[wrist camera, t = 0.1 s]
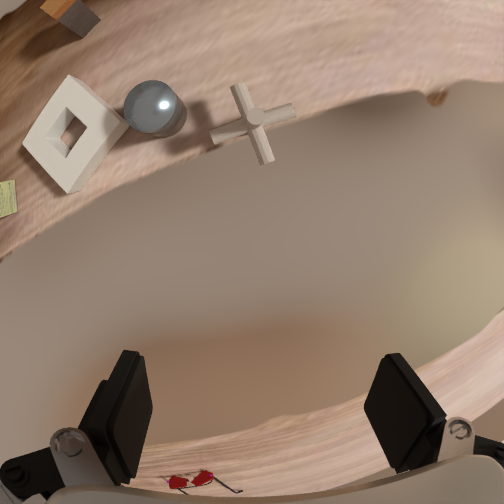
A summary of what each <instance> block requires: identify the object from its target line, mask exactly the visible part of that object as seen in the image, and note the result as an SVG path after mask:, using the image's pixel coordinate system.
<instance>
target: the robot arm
mask: <svg viewBox="0 0 504 504" xmlns="http://www.w3.org/2000/svg"><path fill="white" fill-rule="evenodd" d="M152 408H153V407H152V400H151V395H150V389H149V384H148V378H147V373H146V367H145V360H144V357H143V356H140V355H139V352H137V351H129V350H124V351H123V352H122V354H121V356H120V358H119V360H118V362H117V363H116V366H115V367H114V369H113V371H112V373H111V375H110V377H109V379H108V380H103V381H101V383H100V384H99V386H98V388H97V390H96V392H95V394H94V396H93V398H92V400H91V402H90V404H89V406H88V408H87V410H86V412H85V414H84V416H83V418H82V420H81V422H80V425H79V427H78V429H77V428H71V427H68V428H62V429H60V430H58V431H56V432H55V433H54V434H53V436H52V437H51V439H50V447H48V448H45V449H42V450H39V451H36V452H32V453H29V454H26V455H23V456H20V457H16V458H13V459H10V460H8V461H6V462H5V463H4V464H2V466H1V468H0V504H504V444H503V443H501V442H497V441H494V440H490V439H487V438H483V437H480V436H476V435H475V429H474V427H473V425H472V424H471V422H470V421H468V420H467V419H464V418H462V417H453V418H450V419H449V420H448V421H447V420H446V419H445V417H446V416H447V415H446V413H445V412H444V411H443V409H442V408H441V406H440V405H439V404H438V402H437V401H436V400H435V398H434V397H433V396H432V394H431V393H430V392H429V390H428V389H427V388H426V386H425V385H424V384H423V382H422V381H421V380H420V378H419V377H418V376H417V374H416V373H415V372H414V370H413V369H412V368H411V367H410V365H409V364H408V363H407V361H406V360H405V359H404V358H403V357H402V355H401V354H400V353H393V354H387V355H385V357H384V358H382V359H381V362H380V364H379V367H378V370H377V373H376V375H375V378H374V381H373V383H372V386H371V389H370V391H369V393H368V396H367V398H366V401H365V403H364V411H365V413H366V415H367V417H368V419H369V421H370V423H371V426H372V428H373V430H374V432H375V434H376V436H377V438H378V440H379V442H380V445H381V447H382V449H383V451H384V453H385V455H386V458H387V460H388V462H389V464H390V466H391V467H392V468H395V471H396V473H397V474H398V473H401V474H398V475H394V476H391V477H388V478H384V479H380V480H376V481H372V482H368V483H364V484H359V485H354V486H350V487H344V488H339V489H333V490H326V491H320V492H312V493H304V494H295V495H283V496H267V497H213V496H197V495H185V494H175V493H166V492H159V491H152V490H145V489H137V488H131V487H124V486H120V485H121V483H124V484H129V483H130V479H131V478H135V477H136V473H137V469H138V465H139V461H140V457H141V453H142V449H143V445H144V441H145V437H146V433H147V430H148V426H149V422H150V418H151V415H152ZM408 470H410V471H408ZM405 471H408V472H405ZM402 472H405V473H402Z"/></svg>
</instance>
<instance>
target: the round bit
mask: <svg viewBox="0 0 504 504" xmlns="http://www.w3.org/2000/svg"><path fill="white" fill-rule="evenodd" d="M123 111H124V117H125V119H126V121H127V123H128V124H129V125H130V126H131V127H132V128H134V129H135V130H138V131H141V132H144V133H147V134H150V135H153V136H156V137H162V138H165V137H170V136H173V135H174V134H176V133H178V132H179V131H180V130H181V129H182V127H183V126H184V124H185V122H186V118H187V110H186V107H185V105H184V103H183V102H182V101H181V100H180V98H179V97H178V96H177V95H176V94H175V93H174V92H173V90H172V89H171V88H170V87H169V86H168V85H167V84H165V83H163V82H161V81H157V80H149V81H145V82H142V83H140V84H138V85H137V86H135V87H134V88H133V89H132V90H131V91H130V92H129V94H128V95H127V97H126V99H125V102H124V108H123Z"/></svg>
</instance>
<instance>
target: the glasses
mask: <svg viewBox="0 0 504 504" xmlns="http://www.w3.org/2000/svg"><path fill="white" fill-rule="evenodd" d="M213 478H214V479H215V480H217V481H218V482H220V483H221V484H222V485H224V486H225V487H227V488H228V489H230V490H231V491H232V492H234V493H240V492H243V491H242V490H241V491H239V492H235V491H234V490H232V489H231V488H229V487H228V486H226V485H225V484H224V483H222V482H221V481H219V480H218V479H217V478H215V477H214V476H213V473H211V472H208V471H202V472H201V473H200V474H199V475H198V476H197V477H194V480H193V481H192V482H191V483H193V484H194V485H195V486H192V487H197V486H203V485H202V484H204V483H206V482H208V481H210V480H211V479H212V480H213ZM212 480H211V482H212ZM187 481H188V482H189V480H188V479H186V478H181V477H176V476H172V477H171V478H170V479H169V481H167V483H169V487H170V489H178V490H180V491H181V492H183V493H184V494H186V495H188V494H187V493H185V492H184V491H182V490H181V489H182V487H184V488H190V487H186V486H187ZM211 482H210V483H211ZM208 484H209V483H208ZM204 485H207V484H204ZM180 487H181V488H180Z"/></svg>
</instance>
